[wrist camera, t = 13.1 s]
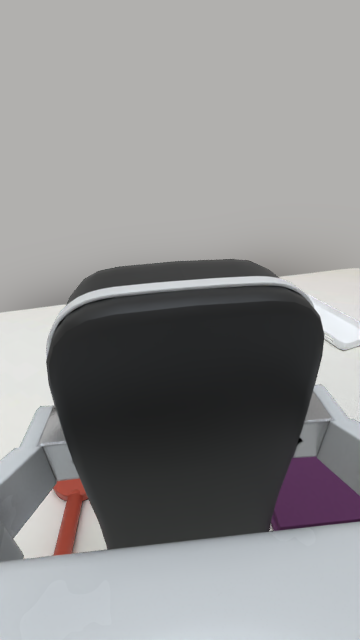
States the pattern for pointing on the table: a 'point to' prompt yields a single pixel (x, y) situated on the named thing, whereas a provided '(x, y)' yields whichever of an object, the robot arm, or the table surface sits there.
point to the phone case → (337, 325)
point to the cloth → (313, 497)
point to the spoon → (69, 513)
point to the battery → (183, 395)
